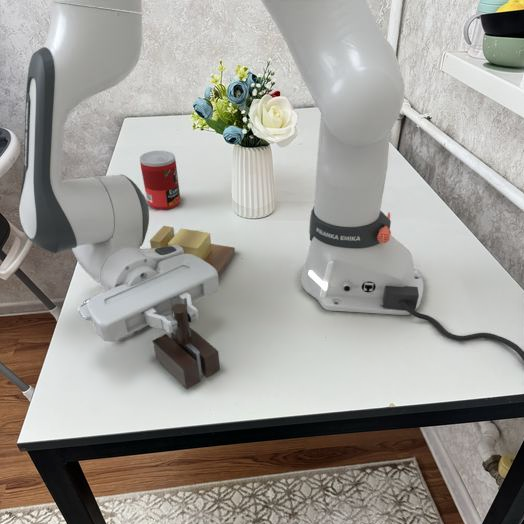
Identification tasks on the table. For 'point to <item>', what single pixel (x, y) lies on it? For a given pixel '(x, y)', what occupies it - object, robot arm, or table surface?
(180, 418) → the table surface
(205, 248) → the butter board
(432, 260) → the table surface
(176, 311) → the butter cutter
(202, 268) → the robot arm
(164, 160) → the canned food
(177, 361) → the knife block
